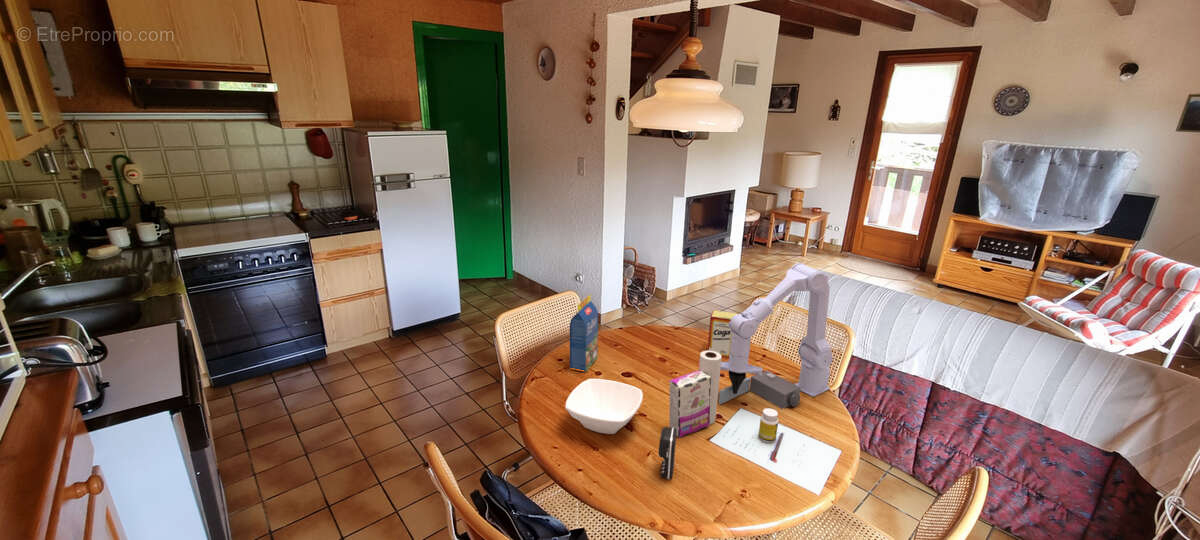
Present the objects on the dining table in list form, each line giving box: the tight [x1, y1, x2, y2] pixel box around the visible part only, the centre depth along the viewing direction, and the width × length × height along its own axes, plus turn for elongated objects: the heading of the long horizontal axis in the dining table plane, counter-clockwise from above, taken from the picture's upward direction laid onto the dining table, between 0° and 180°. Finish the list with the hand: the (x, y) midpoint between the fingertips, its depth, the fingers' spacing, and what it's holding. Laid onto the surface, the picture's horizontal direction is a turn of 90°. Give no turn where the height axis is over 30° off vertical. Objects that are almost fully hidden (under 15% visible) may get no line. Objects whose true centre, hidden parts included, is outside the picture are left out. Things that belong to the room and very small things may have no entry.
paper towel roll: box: [698, 347, 723, 425], centre depth 146 cm, size 7×6×21 cm
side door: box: [718, 377, 751, 405], centre depth 160 cm, size 2×14×4 cm, turn 127°
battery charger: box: [658, 426, 677, 480], centre depth 126 cm, size 7×4×11 cm, turn 167°
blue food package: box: [569, 293, 599, 372], centre depth 177 cm, size 6×12×25 cm, turn 160°
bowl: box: [564, 378, 644, 435], centre depth 145 cm, size 21×21×9 cm
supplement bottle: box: [757, 408, 779, 444], centre depth 140 cm, size 5×5×8 cm
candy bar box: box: [669, 369, 711, 439], centre depth 142 cm, size 11×5×16 cm, turn 118°
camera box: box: [749, 370, 801, 410], centre depth 161 cm, size 8×15×6 cm, turn 33°
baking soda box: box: [707, 310, 738, 359], centre depth 188 cm, size 10×6×16 cm
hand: (734, 392), depth 157 cm, fingers closed
